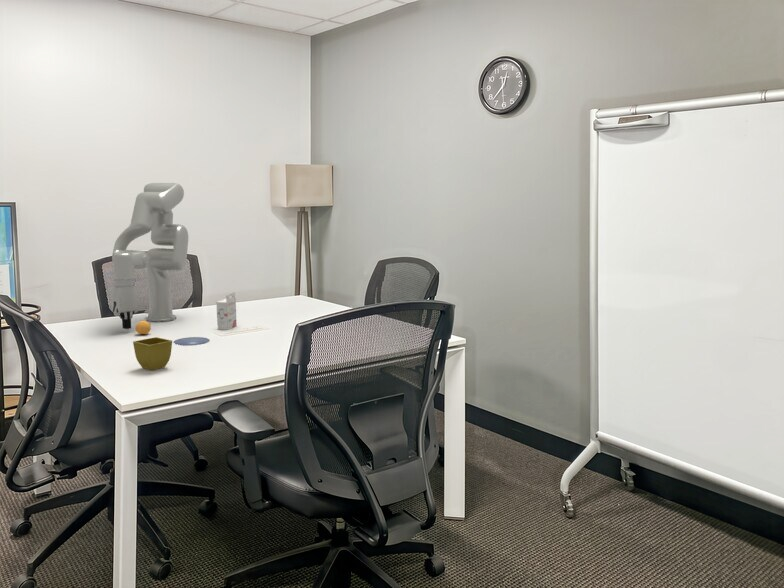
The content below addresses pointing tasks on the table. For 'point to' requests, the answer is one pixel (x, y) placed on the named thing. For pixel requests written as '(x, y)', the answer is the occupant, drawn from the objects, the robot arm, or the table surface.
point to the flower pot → (153, 352)
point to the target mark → (191, 341)
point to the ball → (143, 327)
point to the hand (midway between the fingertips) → (126, 328)
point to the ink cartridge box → (226, 312)
